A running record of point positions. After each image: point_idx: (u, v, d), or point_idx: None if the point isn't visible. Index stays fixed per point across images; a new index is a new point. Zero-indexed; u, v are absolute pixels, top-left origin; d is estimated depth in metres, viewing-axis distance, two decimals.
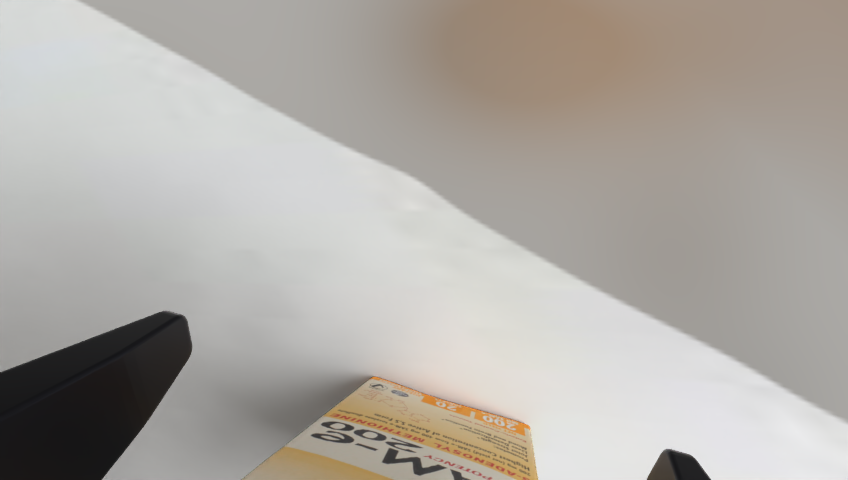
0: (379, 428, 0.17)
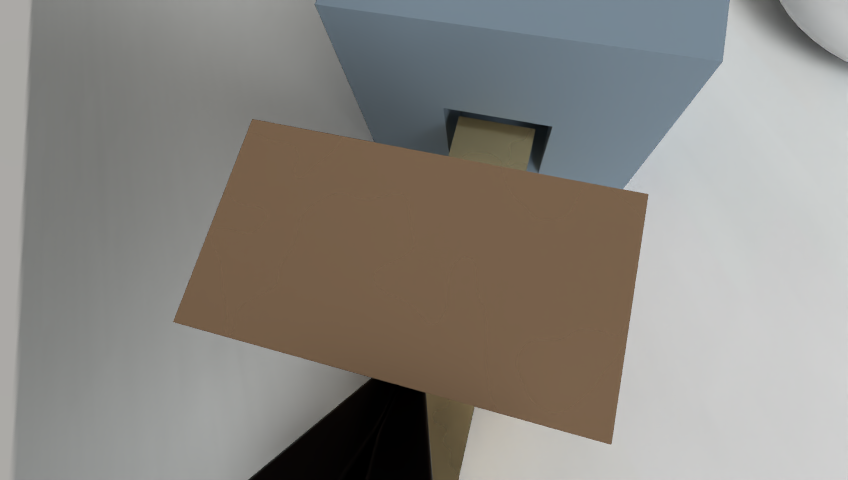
0: None
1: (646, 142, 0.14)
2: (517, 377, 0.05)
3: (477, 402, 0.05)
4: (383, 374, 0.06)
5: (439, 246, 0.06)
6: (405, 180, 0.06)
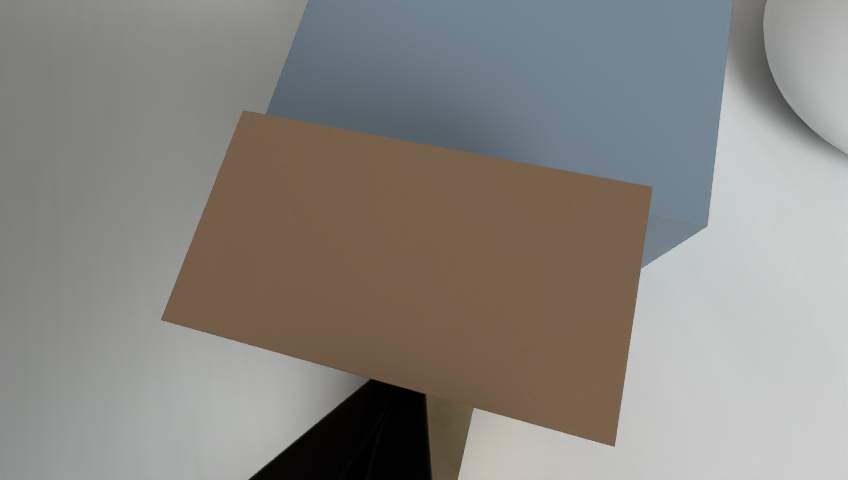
0: None
1: None
2: (517, 377, 0.05)
3: (475, 403, 0.05)
4: (378, 374, 0.05)
5: (436, 241, 0.06)
6: (400, 172, 0.06)
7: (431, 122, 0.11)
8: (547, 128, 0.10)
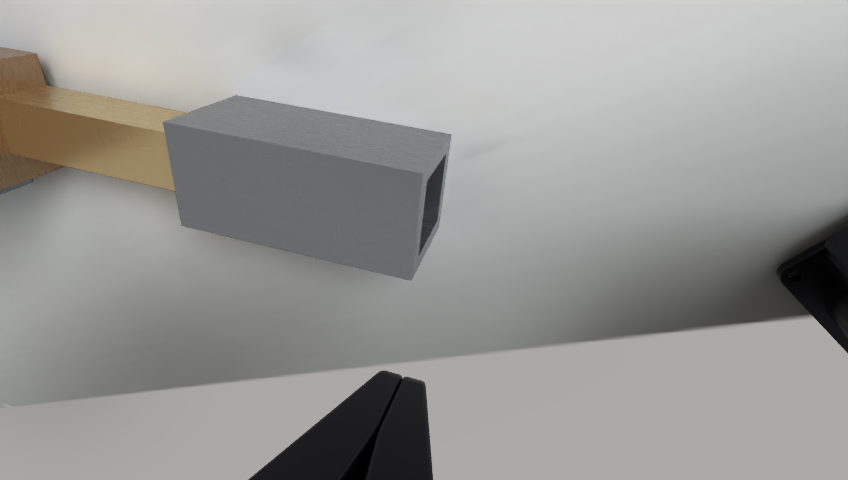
0: None
1: None
2: None
3: None
4: None
5: None
6: None
7: None
8: None
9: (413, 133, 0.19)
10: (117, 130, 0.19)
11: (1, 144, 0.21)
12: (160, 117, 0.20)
